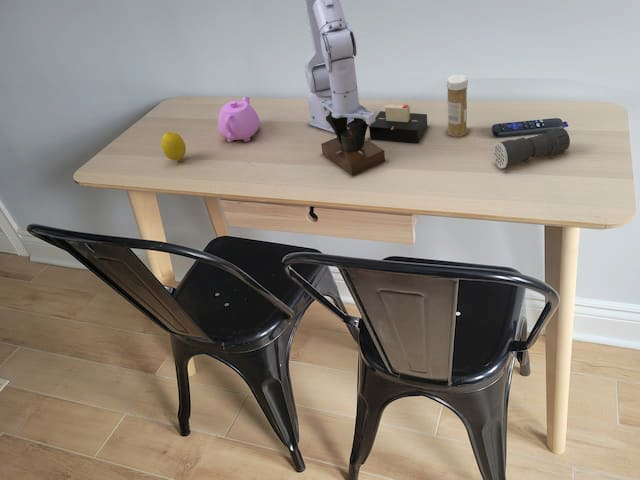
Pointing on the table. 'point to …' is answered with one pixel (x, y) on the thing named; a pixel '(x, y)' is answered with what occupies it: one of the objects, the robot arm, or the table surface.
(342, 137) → the round dial
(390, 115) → the bar knob
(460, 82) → the sprinkles bottle
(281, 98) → the table surface
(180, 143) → the lemon
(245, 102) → the teapot
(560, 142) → the flashlight
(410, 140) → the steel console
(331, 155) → the walnut console
